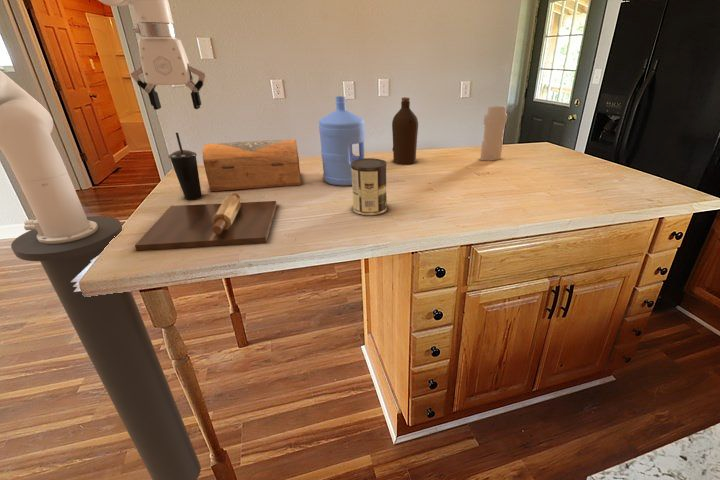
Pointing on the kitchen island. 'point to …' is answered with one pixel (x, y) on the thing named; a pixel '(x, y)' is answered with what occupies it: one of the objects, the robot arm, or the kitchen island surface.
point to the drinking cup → (186, 171)
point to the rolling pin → (226, 213)
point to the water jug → (340, 143)
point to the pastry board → (208, 227)
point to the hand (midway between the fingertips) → (177, 108)
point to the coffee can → (369, 186)
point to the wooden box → (251, 164)
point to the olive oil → (404, 134)
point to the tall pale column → (493, 133)
